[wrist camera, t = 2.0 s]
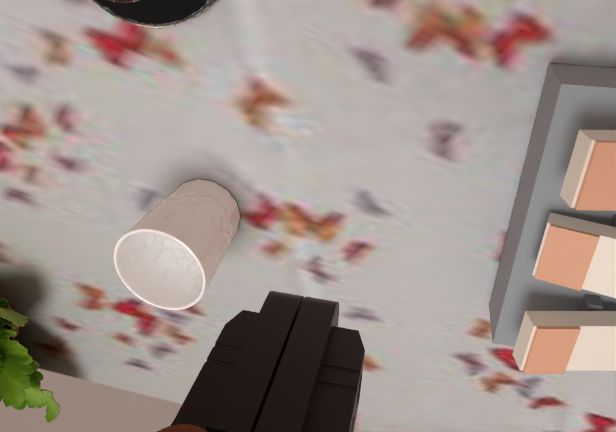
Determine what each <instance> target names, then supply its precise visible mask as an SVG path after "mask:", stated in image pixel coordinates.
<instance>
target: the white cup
mask: <svg viewBox="0 0 616 432" xmlns="http://www.w3.org/2000/svg"><path fill="white" fill-rule="evenodd" d="M239 221H240V213H239V209H238V205H237V202H236V201H235V200H234V198H233V197H232V196H231V194H230V193H229V192H228V191H227V190H226V189H224V188H223V187H221V186H220V185H218V184H216V183H215V182H213V181H207V180H201V179H196V180H193V181H189V182H186V183H184V184H182V185H181V186H180V187H179V188H178V189H177V190H176V191H175V192H174V193H173V194H171V195H170V196H168V197H167V198H165V199H164V200H163V201H162V202H160V203H159V204H158V205H157V206H156V207H155V208H153V209H152V210H151V211H150V212H149V213H148V214H147V215H145V216H144V217H143V218H142V219H141V220H140V221H139V222H138V223H137V224H136V225H135V226H133V227H132V228H131V229H130V230H129V231H128V232H127V233H126V234H125V235H123V236H122V237H121V238H120V239H119V241H118V242H117V244H116V246H115V250H114V264H115V268H116V271H117V273H118V275H119V277H120V279H121V280H122V282H123V283H124V284H125V286H126V287H127V288H128V289H129V290H130V291H131V292H132V293H133V294H134V295H136V296H137V297H138V298H140V299H141V300H143V301H145V302H146V303H148V304H150V305H153V306H155V307H158V308H162V309H168V310H180V309H185V308H188V307H191V306H192V305H194V304H196V303H197V302H198V301H199V300H200V299H201V297H202V296H203V294H204V292H205V290H206V288H207V286H208V285H209V283H210V281H211V279H212V277H213V276H214V274H215V272H216V270H217V268H218V267H219V265H220V263H221V261H222V259H223V257H224V255H225V253H226V251H227V249H228V247H229V245H230V243H231V240H232V238H233V236H234V235H235V233H236V231H237V229H238V225H239Z"/></svg>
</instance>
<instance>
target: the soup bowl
mask: <svg viewBox="0 0 616 432" xmlns="http://www.w3.org/2000/svg"><path fill="white" fill-rule="evenodd" d="M92 1H93V2H94V3H96V4H98V5H99V6H100V7H101V8H102V9H104V10H106V11H107V12H108V13H110V14H111V15H113V16H114V17H116V18H119V19H121V20H123V21H126V22H128V23H131V24H133V25H137V26H142V27H147V28H157V29H160V28H164V27H168V26H173V25H178V24H180V23H184V22H185V21H187V20H191V19H193V18H194V17H196V16H197V15H198V14H199V13H201V12H203V11H204V10H206V9H207V8H208V7H209V6H210V5H212V4H213V3H214V2H215V1H216V0H92Z"/></svg>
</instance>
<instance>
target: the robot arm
mask: <svg viewBox="0 0 616 432" xmlns="http://www.w3.org/2000/svg"><path fill="white" fill-rule="evenodd" d="M338 316H339V302H334V301H328V300H322V299H317V298H311V297H305V298H304V297H303V296H298V295H293V294H287V293H281V292H275V291H270V292H269V294H268V296H267V298H266V300H265V302H264V304H263V306H262V308H261V311H260V313H257V312H251V311H246V310H243V311H241V312H240V313H239V314H238V315H236V316H235V317H234V318H233V319H231V320H230V321H229V322H228V323H227V324H225V326H224V328H223V330H222V332H221V334H220V335H219V337H218V339H217V341H216V343H215V347H213V348H212V350H211V352H210V354H209V356H208V358H207V362H205V363H204V365H203V367H202V369H201V371H200V373H199V375H198V377H197V378H196V380H195V382H194V384H193V386H192V388H191V390H190V391H189V393H188V395H187V397H186V399H185V401H184V403H183V405H182V406H181V408H180V410H179V412H178V414H177V416H176V418H175V419H174V421H173V423H172V424H171V426H169V427H166V428H164V429H161V430H160V431H157V432H353V430H354V425H355V420H356V414H357V409H358V404H359V398H360V389H361V380H362V371H363V362H364V353H365V350H364V347H363V343H362V340H361V337H360V334H359V331H357V330H351V329H346V328H340V327H338Z"/></svg>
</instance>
